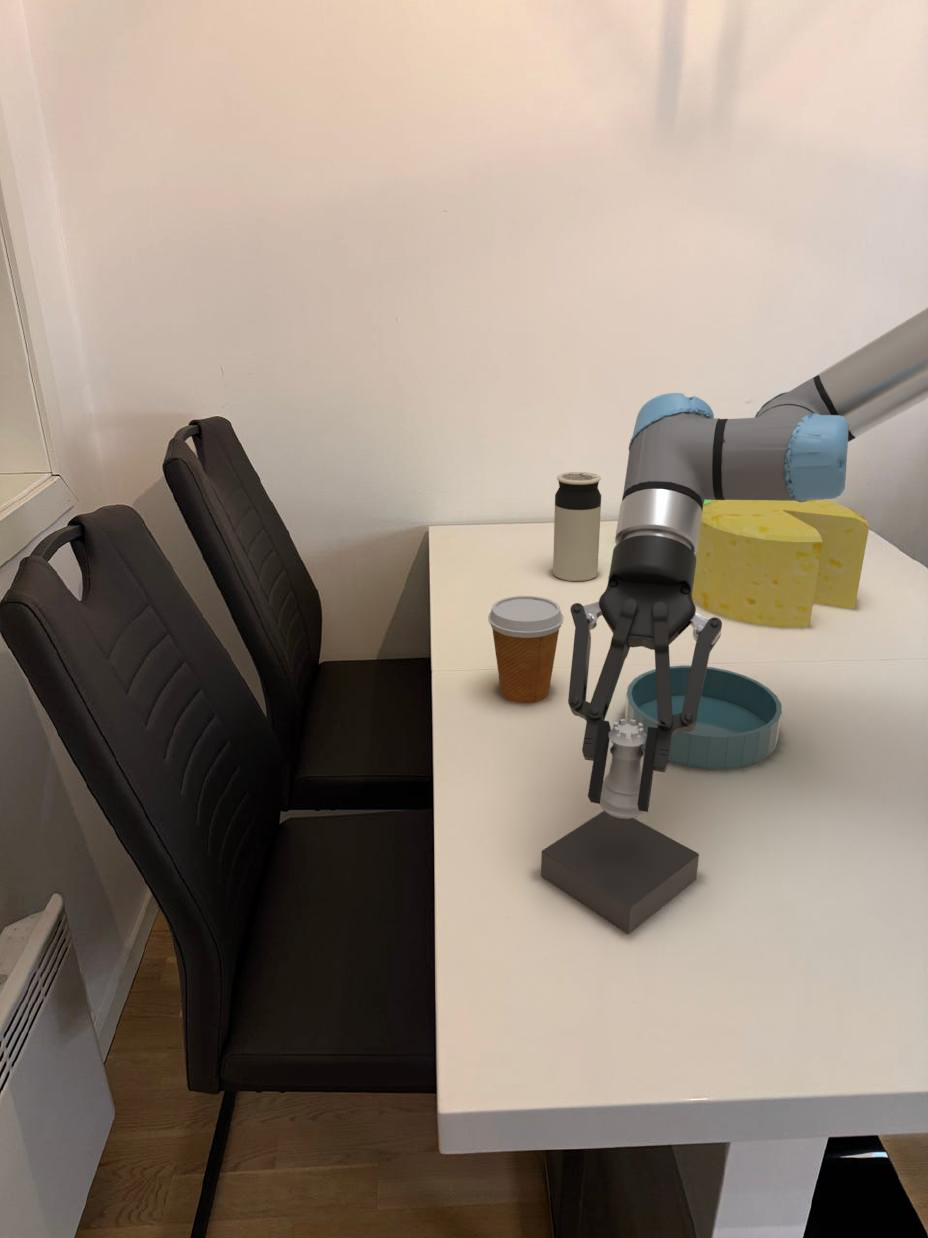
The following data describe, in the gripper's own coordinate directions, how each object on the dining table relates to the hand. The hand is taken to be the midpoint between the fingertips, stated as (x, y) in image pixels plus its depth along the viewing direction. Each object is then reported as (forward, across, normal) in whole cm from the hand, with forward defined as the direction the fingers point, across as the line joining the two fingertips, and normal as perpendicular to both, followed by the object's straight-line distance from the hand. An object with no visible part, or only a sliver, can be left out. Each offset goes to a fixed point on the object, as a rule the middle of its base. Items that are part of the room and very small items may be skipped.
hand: (618, 803), depth 69 cm
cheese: (-49, -14, -65) cm, 83 cm away
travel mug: (-51, +19, -66) cm, 86 cm away
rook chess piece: (-1, 0, -5) cm, 5 cm away
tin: (-16, -6, -31) cm, 35 cm away
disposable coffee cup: (-18, +17, -34) cm, 42 cm away
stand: (+5, 0, -10) cm, 11 cm away
